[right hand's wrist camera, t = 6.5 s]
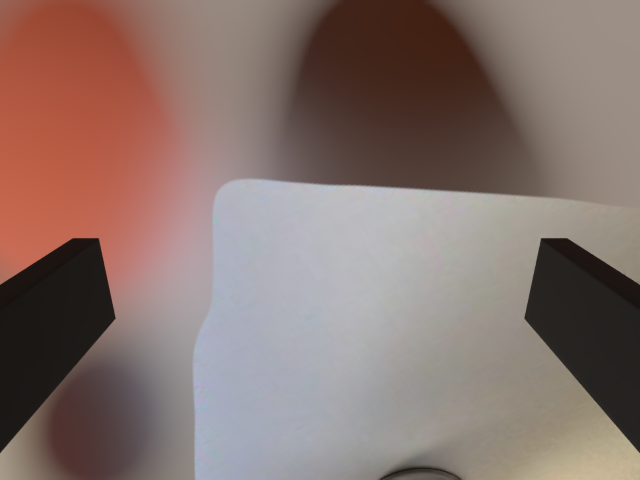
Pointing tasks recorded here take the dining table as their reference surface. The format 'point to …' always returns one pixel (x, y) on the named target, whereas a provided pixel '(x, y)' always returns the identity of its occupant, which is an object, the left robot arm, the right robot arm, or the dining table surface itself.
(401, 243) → the dining table surface
